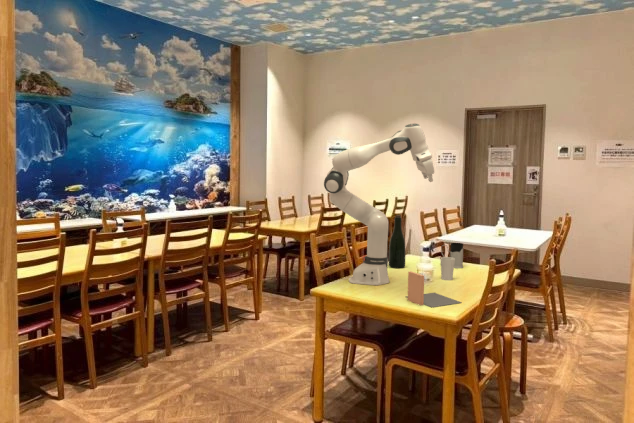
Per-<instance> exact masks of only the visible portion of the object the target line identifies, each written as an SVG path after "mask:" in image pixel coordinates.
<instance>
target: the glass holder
mask: <svg viewBox="0 0 634 423" xmlns="http://www.w3.org/2000/svg"><path fill="white" fill-rule="evenodd" d="M443 246H445V247H446V248H447V252H448V253H449V257H451V258H455V262H454V269H464V266H463V265H464V261H463V260H464V243H461V242H451V243H450V250H449V247H448V245H446V244H443V245H442V246H441V247H440V253H441V255H442V257H445V256H444V253H443V250H442V248H443Z"/></svg>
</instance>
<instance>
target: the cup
mask: <svg viewBox="0 0 634 423" xmlns="http://www.w3.org/2000/svg"><path fill="white" fill-rule="evenodd" d="M454 262H455V258H451V257H450V256H444V257H443V256H442V257H440V271H441V272H440V274H441V275H440V276H441V278H440V279H441V280H443V281H453V280H454V278H453V277H454V269H455V268H454Z"/></svg>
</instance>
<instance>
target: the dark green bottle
mask: <svg viewBox="0 0 634 423" xmlns="http://www.w3.org/2000/svg"><path fill="white" fill-rule="evenodd" d="M393 220H394V226H393V232H392V234H391V236H390V239H389V243H388V244H389V245H388V246H389V247H388V248H389V249H388V267H389V268H391V269H404V268H405V267H406V239H405V237H404V236H405V235H404V233H403V228H402V220H403V219H402V216H401V215H400V214H395V217H394V219H393Z"/></svg>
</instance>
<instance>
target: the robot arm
mask: <svg viewBox="0 0 634 423" xmlns="http://www.w3.org/2000/svg"><path fill="white" fill-rule="evenodd" d="M425 136H426V135H425V134H424V130H423V128H422V126H421V125H420V124H419V123H410V124H406V125H404V127H403V129H402V130H398V131H397V132H395V133H394V134H393V135H391V136H390V137H388V138H386V139H382V140H380V141H376V142H374V143H369V144H365V145H359V146H354V147H350V148H347V149H344V150H343V151H340V152H338V153H337V154H335V155H334V156H333V157H332V162H331V163H332V166H333V167H332V168H331V169H330V170H329V171H328V173H327V174H326V176H325V178H324V180H323V187H324V189H325V191H327V193H329V197H328V198H329V201H330V202H331V204H332V205H334V206H335V207H337V208H338V209H339V210H340V211H342V212H343V213H345V214H346V215H348V216H350V217H351V218H353V219H355V220H356V221H358V222H360V223H362V224H363V225H365V226H366V227H367V239H366V240H367V243H366V255H363V256H362V263H361V264H359V265H358V266H357V267H355V268H354V269H353V272H352V276H350V277H349V278H348V282H349V283H350V284H354V285H355V284H357V285H368V286H380V285H381V286H382V285H385V284H388V283H390V278H389V273H388V267H389V256H388V240H389V238H388V236H389V219H388V217H387V215H386V214H385V213H384V212H383V211H381V210H380V209H379V208H376V207H374V206H373V205H371V204H370V203H368V202H366V201H365V200H363V199H362V198H360V197H358V196H357V195H355V194H354V193H353V192H351V191H350V190H348V189H347V187H346V186H347V184H348V180H349V175H350V174H349V171H353V170H356V169H359V168H361V167H363V166H365V165H368V164H369V163H370V162H371V161H372V160H373V159H374V158H375V157H377V156H379V155H380V154H383V153H386V152H389V151H391V153H392V154H394V155H403V154H406V153H407V152H409V151H410V154H411V157H412V161H413V162H415V166H416V167H417V170H418V171H420V172H421V175H422V177H423V179H426V180H427V179H428V182H430V183H432V182H433V181H434V179H433V175H434V174H435V167H434V163H433V160H432V158H433V155H432V154H431V151H430V149H429V146H428V144H427V142H426V137H425Z"/></svg>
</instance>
